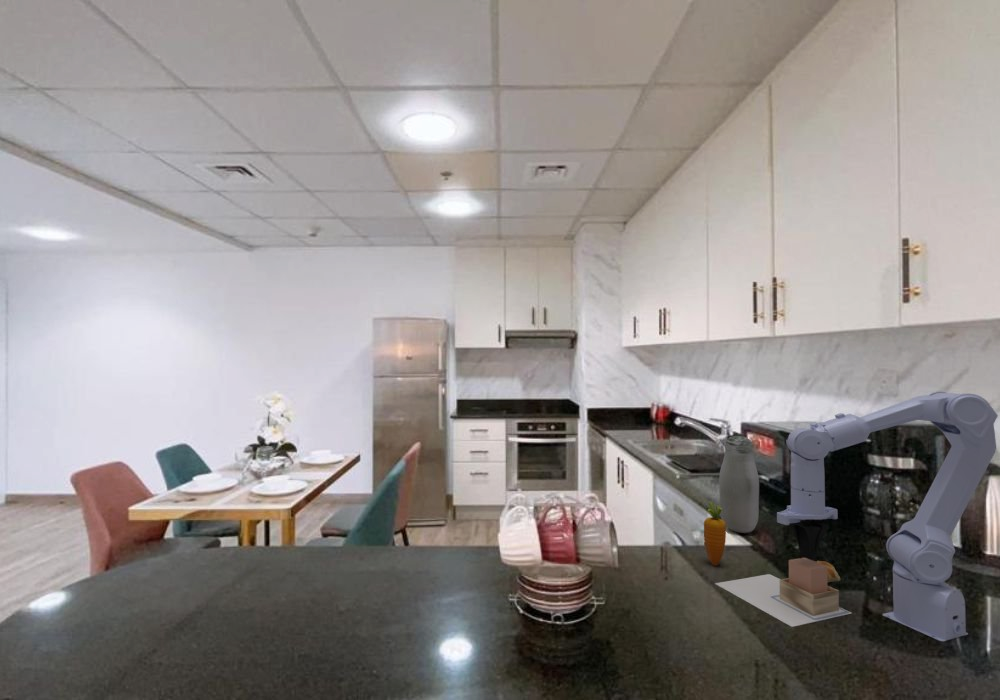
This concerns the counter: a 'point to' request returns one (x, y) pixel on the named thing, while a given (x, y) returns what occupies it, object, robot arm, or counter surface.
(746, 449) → the glass bottle
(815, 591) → the terracotta block
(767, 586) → the board
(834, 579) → the pastry
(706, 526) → the carrot
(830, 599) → the maple base block
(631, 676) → the counter surface
